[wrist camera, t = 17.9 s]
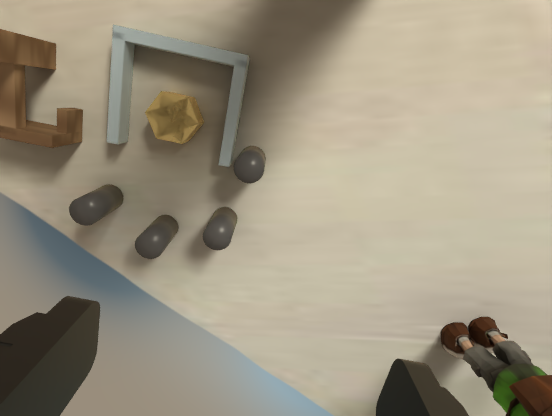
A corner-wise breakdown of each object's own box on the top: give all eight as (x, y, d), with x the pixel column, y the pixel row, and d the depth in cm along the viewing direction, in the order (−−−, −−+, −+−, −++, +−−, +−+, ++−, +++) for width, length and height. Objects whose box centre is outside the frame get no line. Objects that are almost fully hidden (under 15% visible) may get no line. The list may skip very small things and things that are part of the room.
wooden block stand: (1, 31, 35) (-131, -2, 24) (84, 50, 36) (-6, 25, 24) (4, 126, 38) (-112, 136, 27) (81, 141, 39) (0, 158, 27)
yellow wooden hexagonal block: (157, 89, 37) (147, 88, 34) (207, 100, 37) (201, 100, 35) (152, 133, 38) (142, 135, 36) (201, 143, 39) (195, 146, 36)
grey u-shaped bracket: (124, 29, 35) (113, 24, 33) (249, 58, 36) (248, 55, 34) (117, 139, 39) (106, 142, 36) (231, 163, 39) (229, 167, 37)
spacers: (102, 114, 38) (71, 116, 32) (267, 148, 39) (266, 157, 33) (96, 224, 42) (68, 243, 36) (247, 252, 43) (242, 276, 37)
